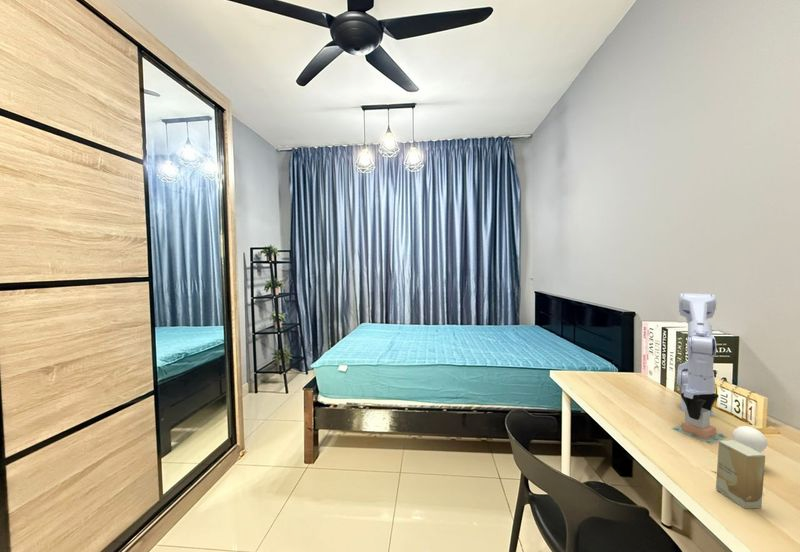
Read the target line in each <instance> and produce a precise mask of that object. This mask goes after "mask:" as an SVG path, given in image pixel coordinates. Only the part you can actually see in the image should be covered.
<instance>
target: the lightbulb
mask: <svg viewBox="0 0 800 552" xmlns="http://www.w3.org/2000/svg"><path fill="white" fill-rule="evenodd" d="M732 437H733V440H735V441H737V442H739V443H741V444H743V445H745V446H748V447H750V448H752V449H753V450H755V451H757V452H759V453H761V454H762V453H763V451H765V450H766V449H767V447H768V440H767V438H766V437H765V435H764V434H763V433H762V432H761V431H760V430H759V429H756V428H755V427H751V426H748V425H747V426H746V425H741V426H737V427H736V428H735V429H734V430H733V432H732Z"/></svg>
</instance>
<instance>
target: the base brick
mask: <svg viewBox="0 0 800 552" xmlns="http://www.w3.org/2000/svg"><path fill="white" fill-rule="evenodd" d="M681 425H682V430H683V431H685V432H688V433H693V434H694V435H696V436H698V437H701V438H704V439H708V438H711V437H713V436H715V435H716V433H717V427H716V426H713V425H711V424H710V426H709V427H706V428H704V429H701V428H698V427H696V426H693V425H690V424H687V423H685V421H682V422H681Z"/></svg>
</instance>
